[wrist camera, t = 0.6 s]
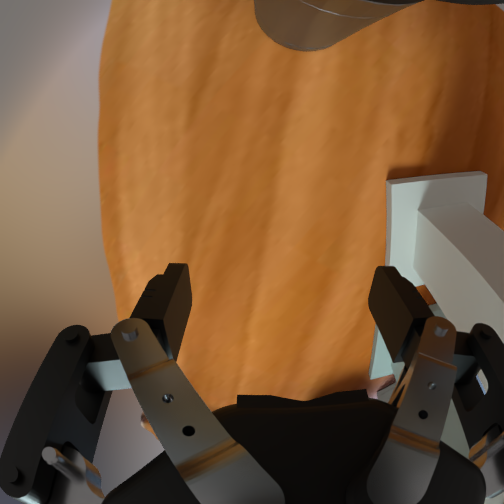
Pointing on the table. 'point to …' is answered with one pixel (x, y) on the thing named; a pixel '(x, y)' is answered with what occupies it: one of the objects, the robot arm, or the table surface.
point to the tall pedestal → (449, 249)
